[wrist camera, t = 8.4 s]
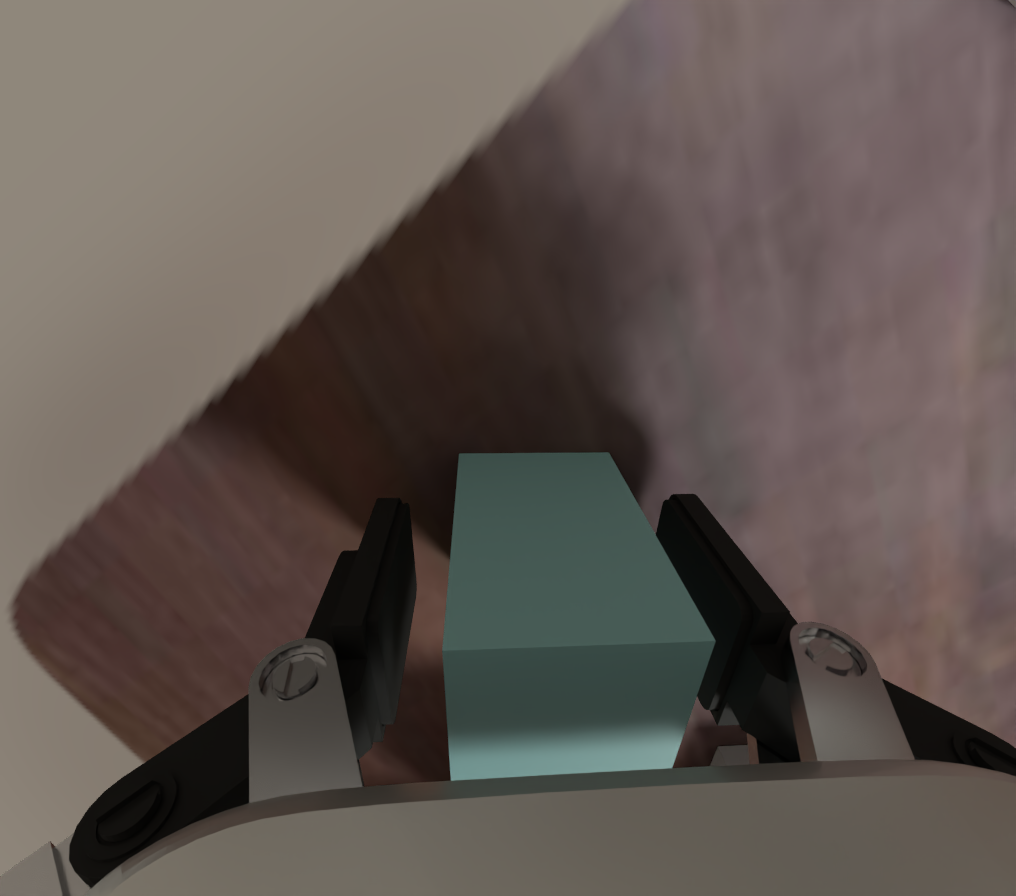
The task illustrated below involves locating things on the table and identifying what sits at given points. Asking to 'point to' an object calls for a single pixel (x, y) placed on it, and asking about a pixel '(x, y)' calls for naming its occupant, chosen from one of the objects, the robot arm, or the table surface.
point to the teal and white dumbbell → (563, 623)
